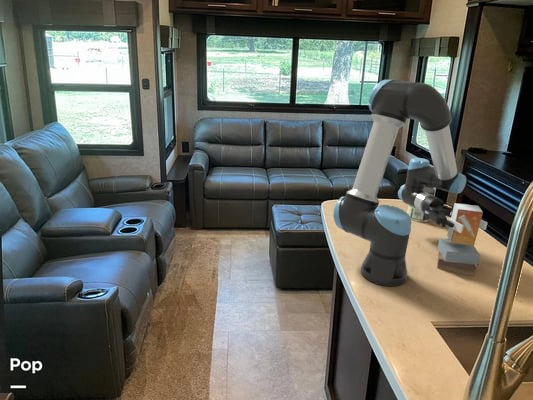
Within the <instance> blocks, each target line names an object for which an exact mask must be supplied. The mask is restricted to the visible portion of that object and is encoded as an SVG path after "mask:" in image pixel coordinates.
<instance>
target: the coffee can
mask: <svg viewBox="0 0 533 400" xmlns="http://www.w3.org/2000/svg"><path fill="white" fill-rule="evenodd" d="M424 192H426V193H429V194H431V195H433V196H434V197H435V194H436V189H435V188H434V187H430V186H427V185H425V188H424ZM406 213H408V214H409V216H410V218H411V221H415V222H420V223H427V222H429V221H430V220H431V219H430V218H429V217H428V216H426V215H425V213H422V212H421V211H420V210H418V209H416V208H414V207H412V206H410V205H408V208H407V212H406Z"/></svg>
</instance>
